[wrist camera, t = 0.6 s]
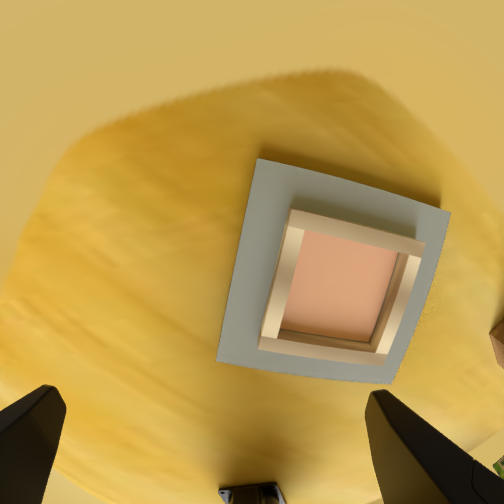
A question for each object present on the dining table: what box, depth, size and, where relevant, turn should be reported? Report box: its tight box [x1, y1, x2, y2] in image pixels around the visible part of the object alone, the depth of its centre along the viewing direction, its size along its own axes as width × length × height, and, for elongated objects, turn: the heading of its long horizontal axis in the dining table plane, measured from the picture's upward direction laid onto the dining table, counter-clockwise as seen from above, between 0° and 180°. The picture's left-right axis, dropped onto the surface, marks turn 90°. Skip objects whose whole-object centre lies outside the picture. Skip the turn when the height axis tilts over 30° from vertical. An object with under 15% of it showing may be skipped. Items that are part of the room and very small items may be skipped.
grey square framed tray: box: [216, 158, 451, 384], centre depth 20 cm, size 14×14×3 cm
